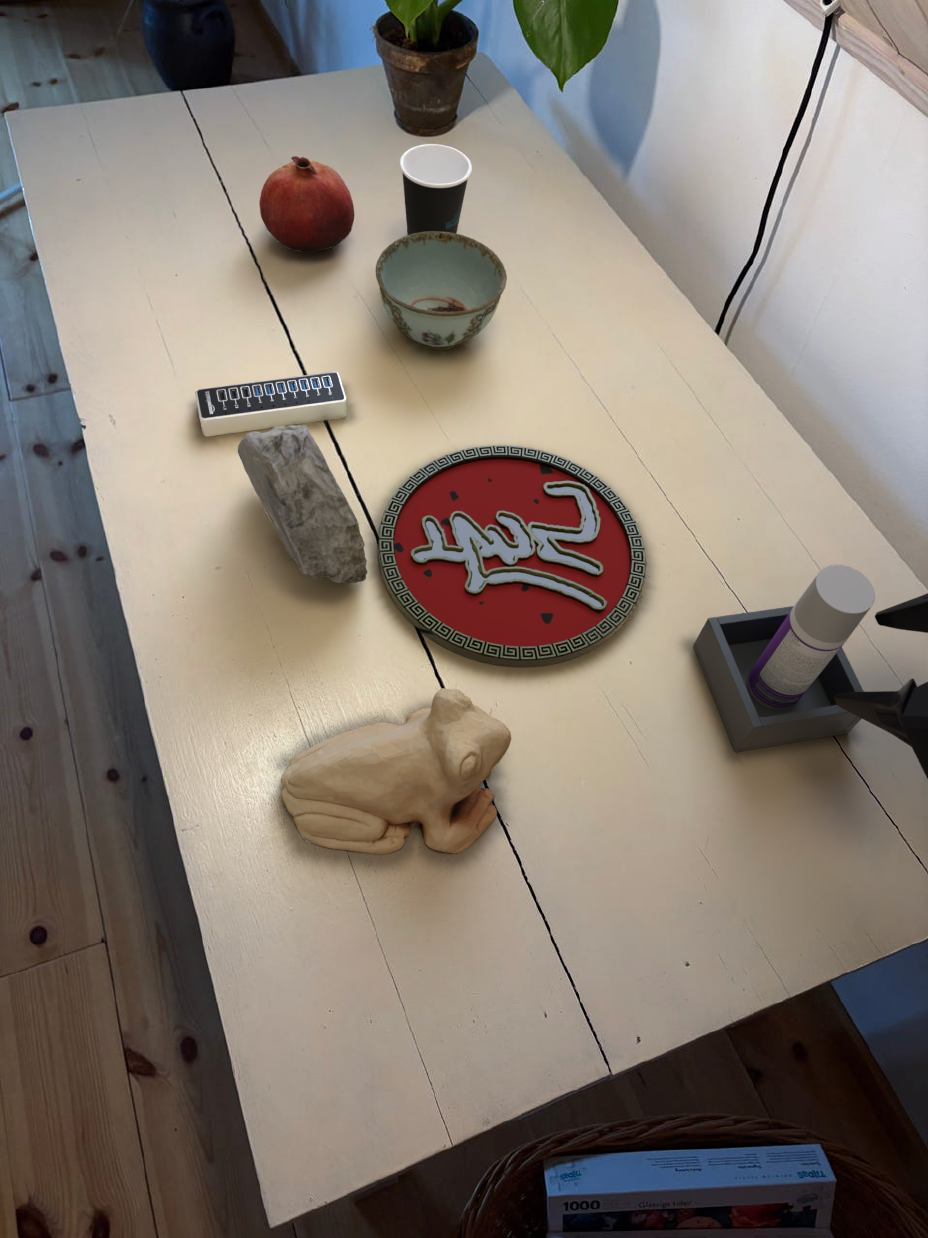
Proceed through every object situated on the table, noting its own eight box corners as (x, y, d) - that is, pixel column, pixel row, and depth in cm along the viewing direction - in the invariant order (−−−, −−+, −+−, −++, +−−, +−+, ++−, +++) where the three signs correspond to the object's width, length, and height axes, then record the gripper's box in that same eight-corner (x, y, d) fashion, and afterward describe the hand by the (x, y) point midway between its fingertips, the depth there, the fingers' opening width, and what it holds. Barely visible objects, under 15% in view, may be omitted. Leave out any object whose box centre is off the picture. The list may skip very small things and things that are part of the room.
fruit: (251, 258, 109) (241, 176, 100) (279, 209, 114) (272, 128, 106) (340, 277, 108) (338, 197, 100) (364, 227, 114) (364, 147, 105)
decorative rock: (373, 595, 85) (373, 484, 72) (304, 622, 82) (292, 512, 70) (302, 470, 92) (291, 349, 79) (237, 491, 90) (215, 370, 77)
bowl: (495, 295, 109) (503, 233, 102) (501, 376, 101) (510, 316, 95) (376, 289, 108) (377, 226, 101) (373, 371, 100) (374, 309, 94)
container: (766, 654, 84) (835, 552, 71) (810, 688, 82) (888, 590, 70) (736, 685, 82) (802, 586, 69) (780, 721, 80) (855, 626, 68)
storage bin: (799, 630, 86) (820, 601, 83) (848, 733, 81) (872, 708, 77) (692, 645, 85) (708, 617, 81) (735, 752, 79) (753, 727, 75)
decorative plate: (671, 654, 82) (384, 664, 79) (667, 661, 83) (384, 671, 80) (620, 443, 96) (373, 445, 93) (617, 451, 97) (373, 453, 94)
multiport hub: (347, 417, 96) (347, 400, 94) (203, 437, 93) (199, 420, 91) (339, 387, 99) (338, 370, 97) (197, 405, 95) (194, 388, 93)
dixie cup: (393, 231, 114) (395, 143, 104) (458, 229, 115) (465, 142, 106) (401, 273, 109) (404, 185, 100) (468, 271, 111) (477, 184, 102)
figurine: (510, 848, 73) (528, 798, 64) (283, 870, 70) (272, 821, 62) (488, 706, 79) (502, 645, 71) (280, 722, 77) (269, 659, 69)
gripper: (1086, 474, 63) (861, 504, 75) (1013, 668, 54) (770, 667, 66) (1126, 598, 68) (907, 608, 80) (1065, 797, 59) (829, 774, 70)
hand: (857, 658), depth 74 cm, fingers open, 9 cm apart
